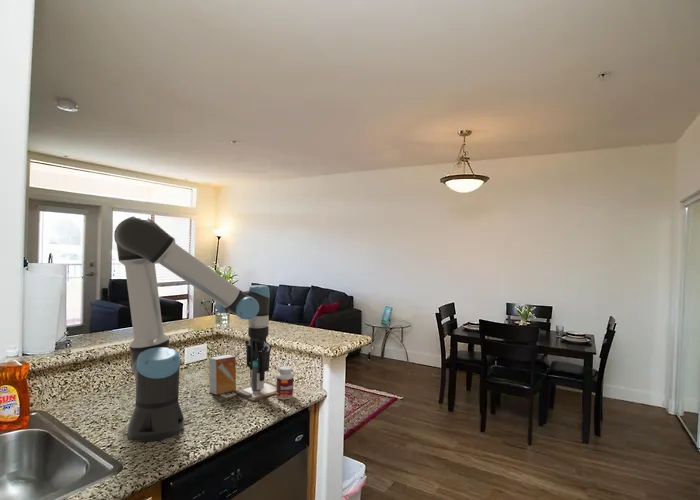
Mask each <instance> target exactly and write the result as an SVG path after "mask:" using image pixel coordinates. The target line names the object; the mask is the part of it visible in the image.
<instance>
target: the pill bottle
mask: <svg viewBox="0 0 700 500" xmlns="http://www.w3.org/2000/svg"><path fill="white" fill-rule="evenodd" d="M292 371H293V368H292V366H288V365H282V366H280V367H279V371H278V374H277V375H276V385H277V388H276V394H275V397H276V398H277V399H278V400H282V401H283V400H284V401H286V399H287V400H290V399H292V398H293V395H294V374H293V372H292Z"/></svg>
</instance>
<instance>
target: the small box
mask: <svg viewBox="0 0 700 500" xmlns="http://www.w3.org/2000/svg"><path fill="white" fill-rule="evenodd" d="M236 359H237V357H236V356H235V355H232V354H224V355H223V354H222V355H218V356H212V357H209V358H208V367H209V368H208V369H209V370H208V373H209V374H208V378H209V379H208V382H209V383H208V384H209V389H208V390H209V393H211V394H213V395H219V394H221V393H226V392H230V391H235V390H237V386H236V385H237V377H236V375H237V371H236V370H237V369H236V366H237V365H236V364H237V363H236V361H237V360H236Z"/></svg>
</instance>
